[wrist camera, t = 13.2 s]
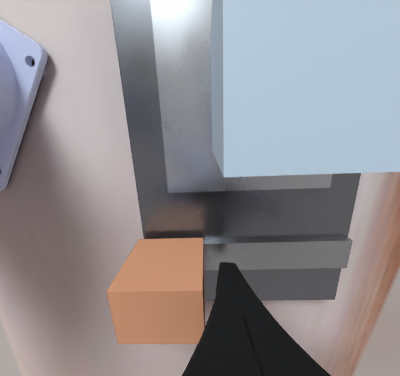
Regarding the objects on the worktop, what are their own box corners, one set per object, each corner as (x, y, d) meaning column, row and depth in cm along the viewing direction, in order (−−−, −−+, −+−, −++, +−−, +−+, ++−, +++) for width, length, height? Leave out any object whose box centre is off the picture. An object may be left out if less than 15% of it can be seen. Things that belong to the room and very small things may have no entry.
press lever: (204, 277, 12) (204, 343, 8) (144, 278, 12) (118, 344, 9) (203, 237, 11) (202, 290, 8) (138, 239, 12) (106, 291, 8)
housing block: (288, 148, 10) (412, 171, 4) (212, 151, 10) (223, 177, 4) (299, 34, 8) (517, -192, 3) (210, 40, 8) (222, -163, 3)
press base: (324, 286, 14) (340, 307, 13) (157, 288, 15) (150, 309, 13) (377, -7, 9) (417, -40, 7) (120, 9, 10) (102, -17, 8)
